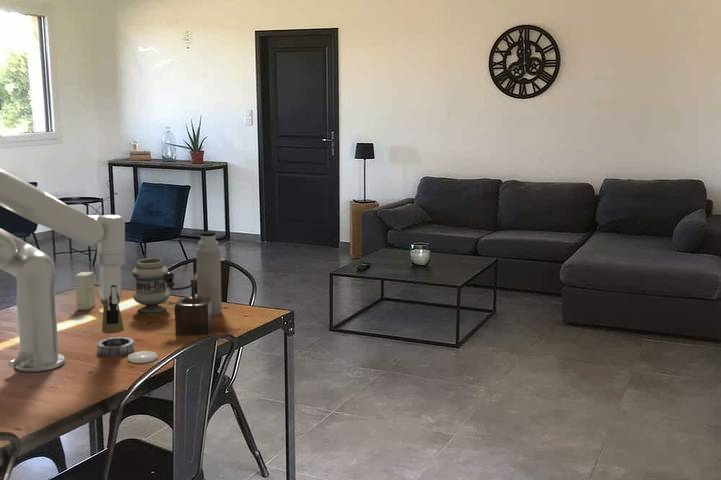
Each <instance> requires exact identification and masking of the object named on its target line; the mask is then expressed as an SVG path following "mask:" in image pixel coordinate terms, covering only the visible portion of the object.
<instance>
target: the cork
mask: <svg viewBox="0 0 721 480" xmlns="http://www.w3.org/2000/svg"><path fill="white" fill-rule="evenodd" d="M109 299H112V297H109ZM120 301H121V298H120V299H119V300H118V323H117V324H107V323H106V310H108V309H107V299H106V300H105V301H104V300H103V299H102V298H101V297H100V302H101V304H102V306H103V307H102V308H103V309H102V310H103V311H102V323H101V324H102V325H101V326H102V327H101V332H102V333H103V334H107V335H109V334H110V335H112V334H118V333H121V332H123V331H125V328H124V323H123V319H122V314H121V310H120V305H119V304H120ZM110 303H112V302H110Z"/></svg>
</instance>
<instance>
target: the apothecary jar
mask: <svg viewBox="0 0 721 480" xmlns="http://www.w3.org/2000/svg"><path fill="white" fill-rule="evenodd" d="M163 263H164V262H163V259H162V258H159V257H158V258H157V257H149V258H141V259H138V260H137V261H136V266H134V268H133V269H132V270H131V271H132V272H131V274H132V276H133V277H134V278H135V282H136V290H135V291H134V293H133V296H132V297H133V298H132V299H133V300H134V301H135V302H136V303H137V304H140V305H143V306H142V307H140V308H138V309H137V310H136V312H137V314H138V315H144V316H158V315H162V314H165V313H166V312H167V311H168V310H167V308H166V307H164V306H162V303H165V302H166V301H168V299H169V298H170V295H171V293H170V292H169V290H168V289H167V287H166V282H165V281H164V280H163V278H162V276H163V274H164V273H166V272H169V269H168V267H167V266H165V264H163Z"/></svg>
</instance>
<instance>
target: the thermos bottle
mask: <svg viewBox="0 0 721 480" xmlns="http://www.w3.org/2000/svg"><path fill="white" fill-rule="evenodd" d="M219 245H220V244H219V241H218V240H216V232H215V231H202V232H200V240H199V241H198V245H197V246H198V247H197V248H196V252H195V253H196V283H197V284H196V285H197V286H196V287H197V288H196V289H197V291H196V295H199V296H201V297H205V298H211V299H212V301H211V304H212V316H217V315H220V314H221V313H222V312H223V311H222V310H223V309H222V279H221V278H222V271H221V270H222V266H221V264H222V262H221V261H222V260H221V256H222V255H221V248H220V247H219Z"/></svg>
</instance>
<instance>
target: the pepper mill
mask: <svg viewBox="0 0 721 480" xmlns="http://www.w3.org/2000/svg"><path fill="white" fill-rule="evenodd" d="M162 278H163V280H164V281H165V287H166V288H168V289H169V290H170V291H181V290H186V289H189V288H191V294H189V295H187V296H185V297H180V298H179V299H178V301H177V302H176V303H175V305H174V323H175V324H174V325H175V326H174V327H175V329H174V331H175V335H176V336H203V334H207V335H209V334H210V332H211V330H212V328H213V320H212V316H213V315H212V304H211V301H212V299H211V298H205V297H201V296H199V295H197V292H195V287H196V283H195V279H191V280H190V284H189V285H185V286H179V287H174V286H175V285H176V283H174V278H175V274H174V273H173V272H171V271H168V272H166V273H164V274H163V276H162Z"/></svg>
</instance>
